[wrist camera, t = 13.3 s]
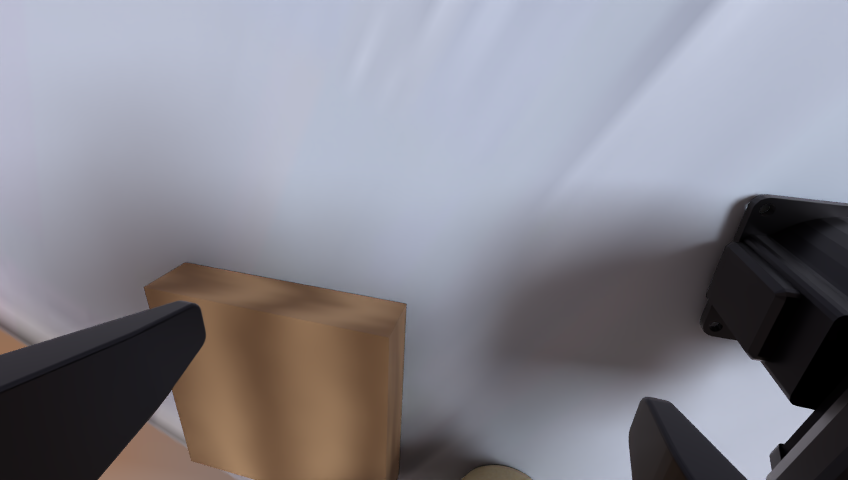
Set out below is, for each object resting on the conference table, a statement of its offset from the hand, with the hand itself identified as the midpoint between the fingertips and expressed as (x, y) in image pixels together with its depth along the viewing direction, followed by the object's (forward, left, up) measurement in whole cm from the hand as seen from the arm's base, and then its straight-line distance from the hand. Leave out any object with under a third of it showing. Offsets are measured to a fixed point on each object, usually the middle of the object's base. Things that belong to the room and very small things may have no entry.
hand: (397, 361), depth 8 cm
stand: (+10, +14, -12) cm, 21 cm away
